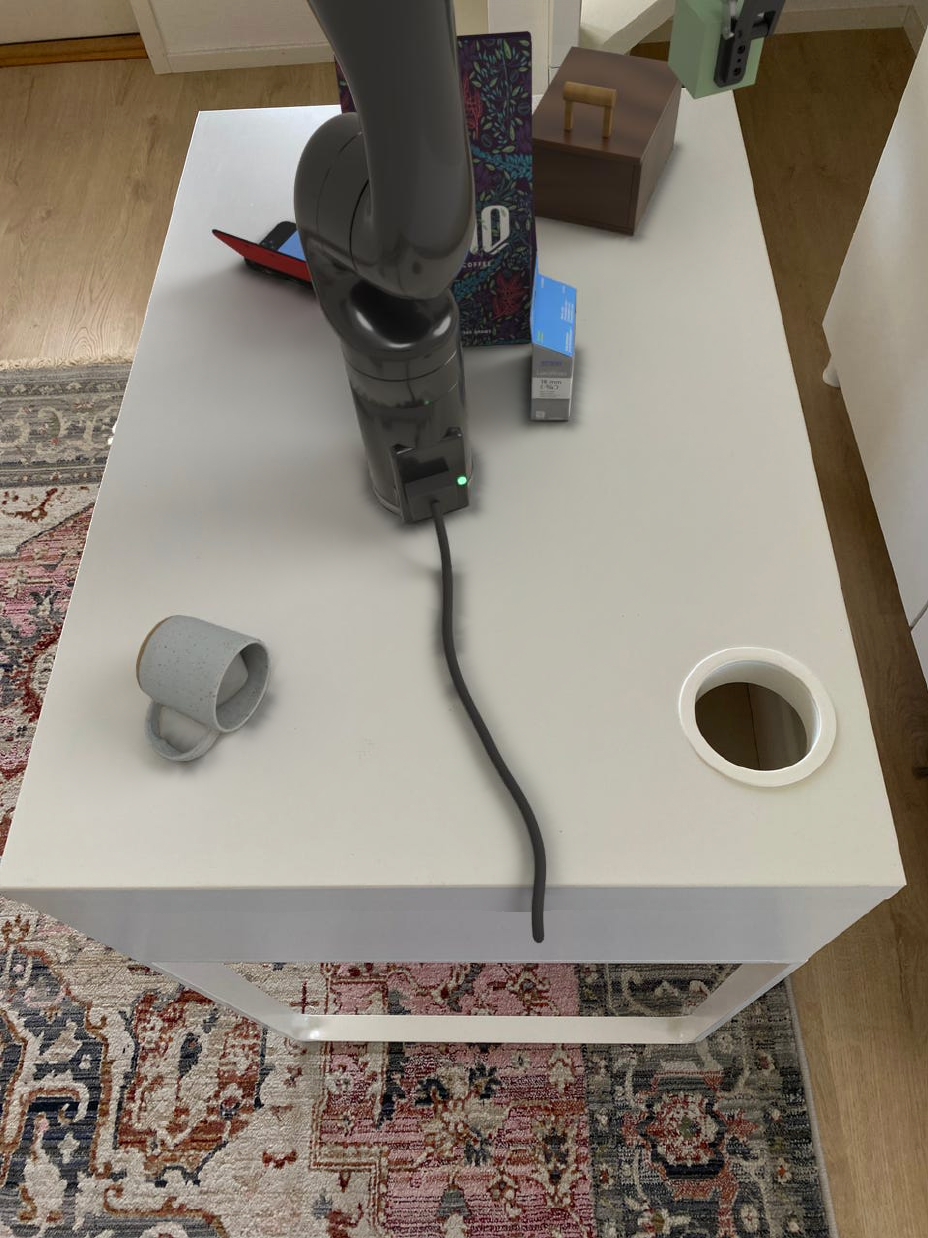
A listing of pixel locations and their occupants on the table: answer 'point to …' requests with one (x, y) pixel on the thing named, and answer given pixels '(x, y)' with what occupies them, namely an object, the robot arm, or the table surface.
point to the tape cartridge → (552, 347)
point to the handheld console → (273, 253)
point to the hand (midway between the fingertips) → (711, 61)
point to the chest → (602, 181)
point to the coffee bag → (495, 187)
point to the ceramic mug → (200, 678)
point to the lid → (604, 105)
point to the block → (704, 47)
